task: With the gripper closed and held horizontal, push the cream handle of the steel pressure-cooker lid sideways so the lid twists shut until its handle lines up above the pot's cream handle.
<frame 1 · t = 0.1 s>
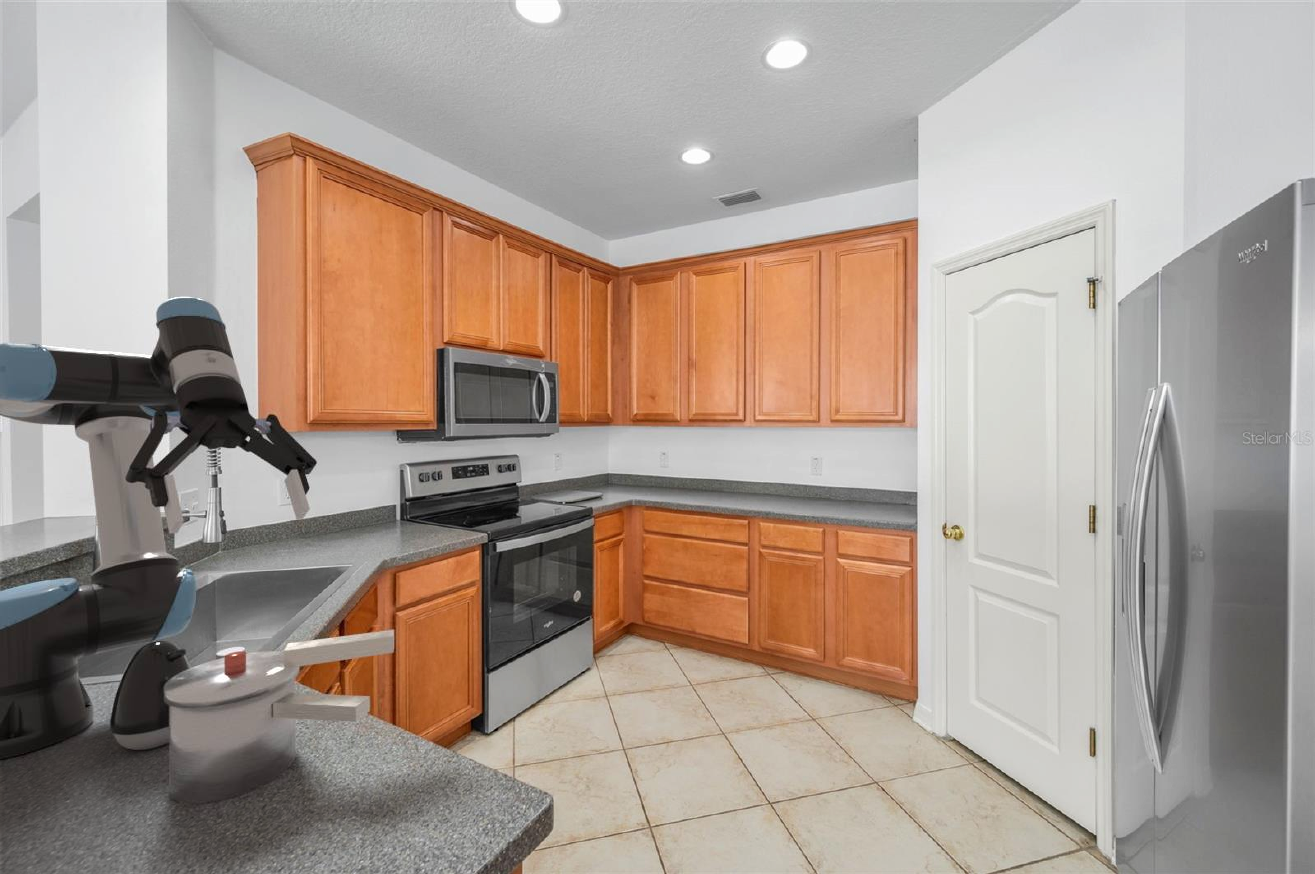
hand: (245, 520, 71), 36 cm above the counter, tool tilted 35°, fingers open, 13 cm apart
lid: (288, 660, 80), point 14 cm above the counter, hinge at 30.0°
pill bottle: (231, 708, 97), on the counter
pump dispenser: (157, 741, 86), on the counter
cooker pot: (235, 770, 78), on the counter
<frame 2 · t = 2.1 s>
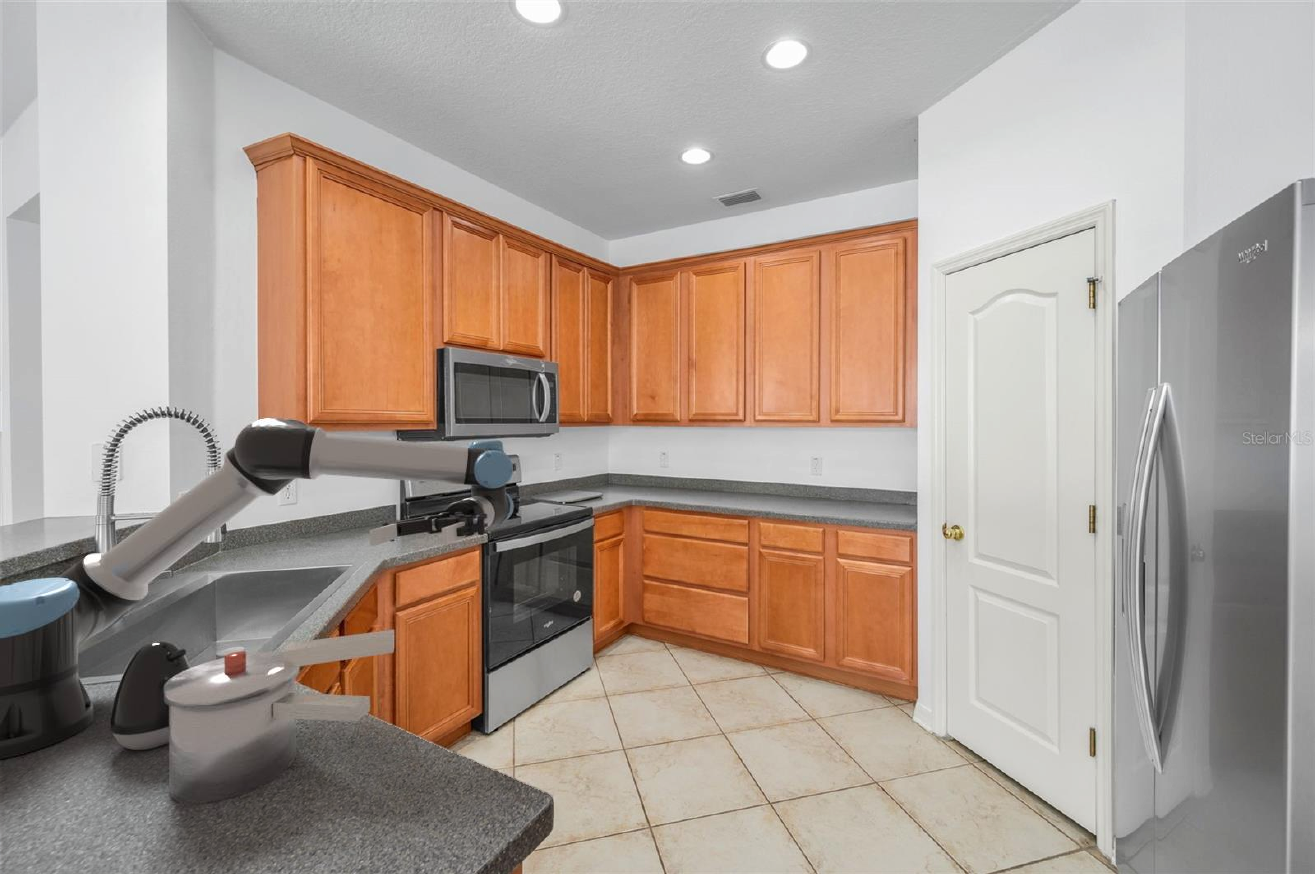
hand: (407, 537, 96), 29 cm above the counter, tool horizontal, fingers open, 13 cm apart
nothing on the counter moved.
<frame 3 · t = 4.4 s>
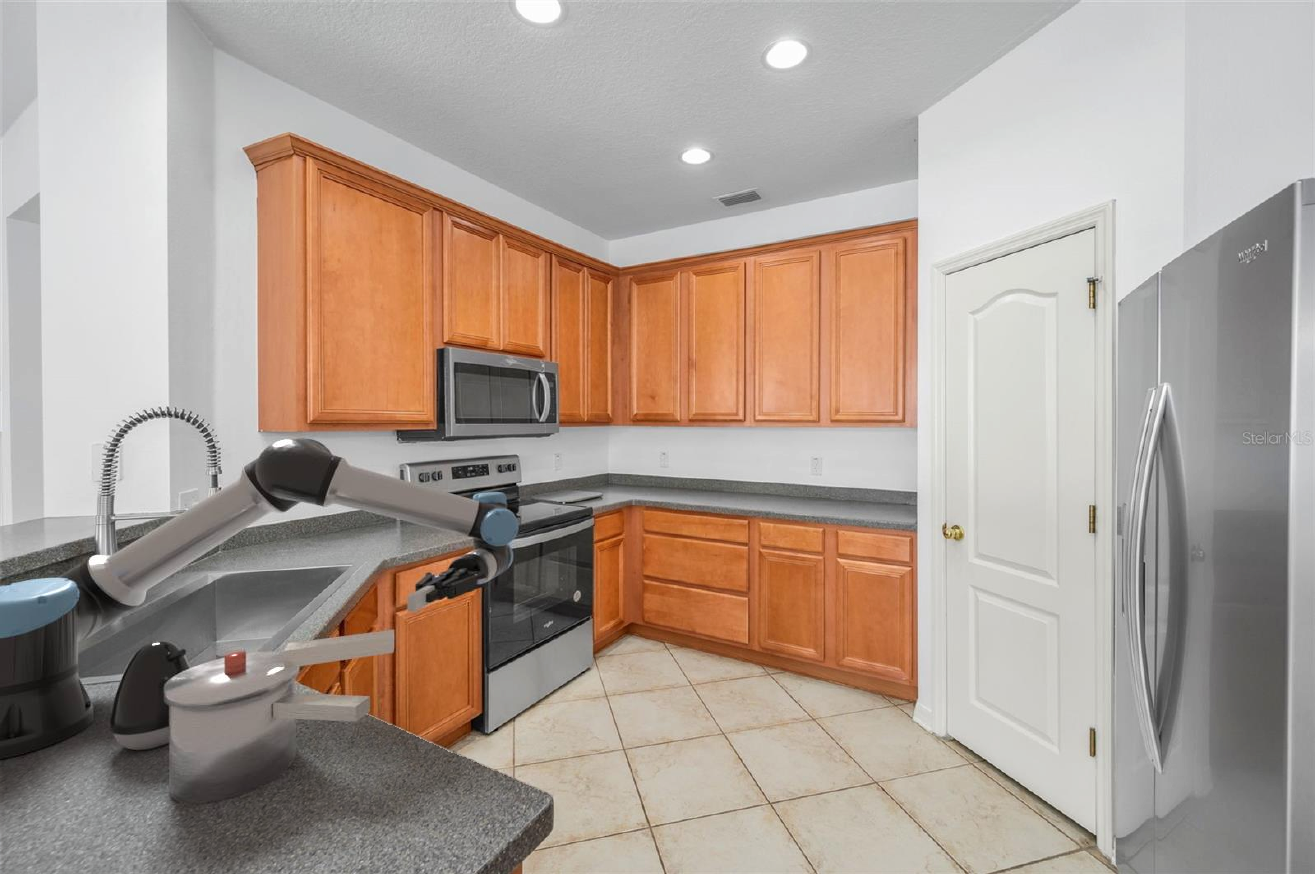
hand: (411, 603, 96), 18 cm above the counter, tool horizontal, fingers closed
nothing on the counter moved.
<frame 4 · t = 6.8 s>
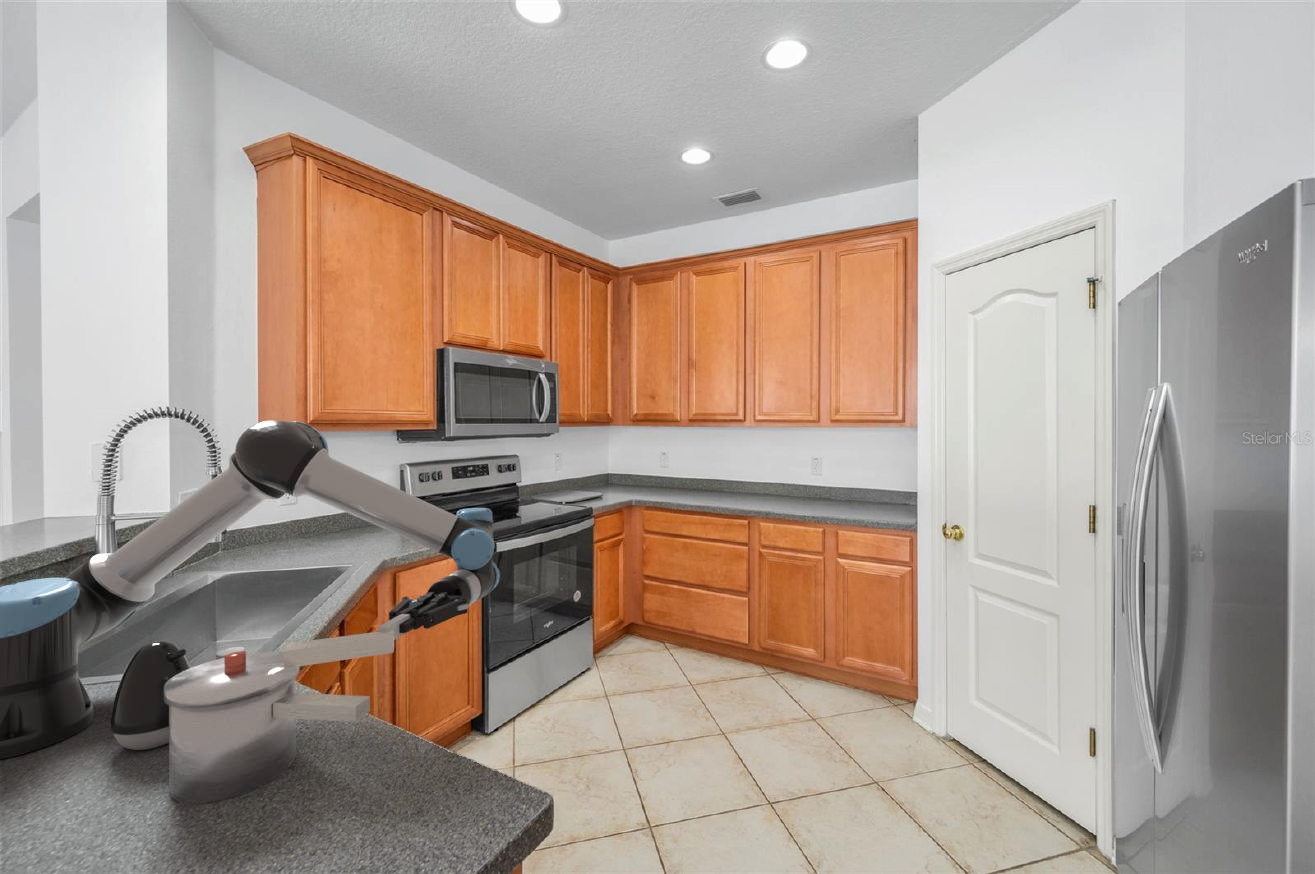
hand: (382, 635, 87), 15 cm above the counter, tool horizontal, fingers closed
lid: (288, 660, 80), point 14 cm above the counter, hinge at 29.9°, touching gripper
everything else where it was.
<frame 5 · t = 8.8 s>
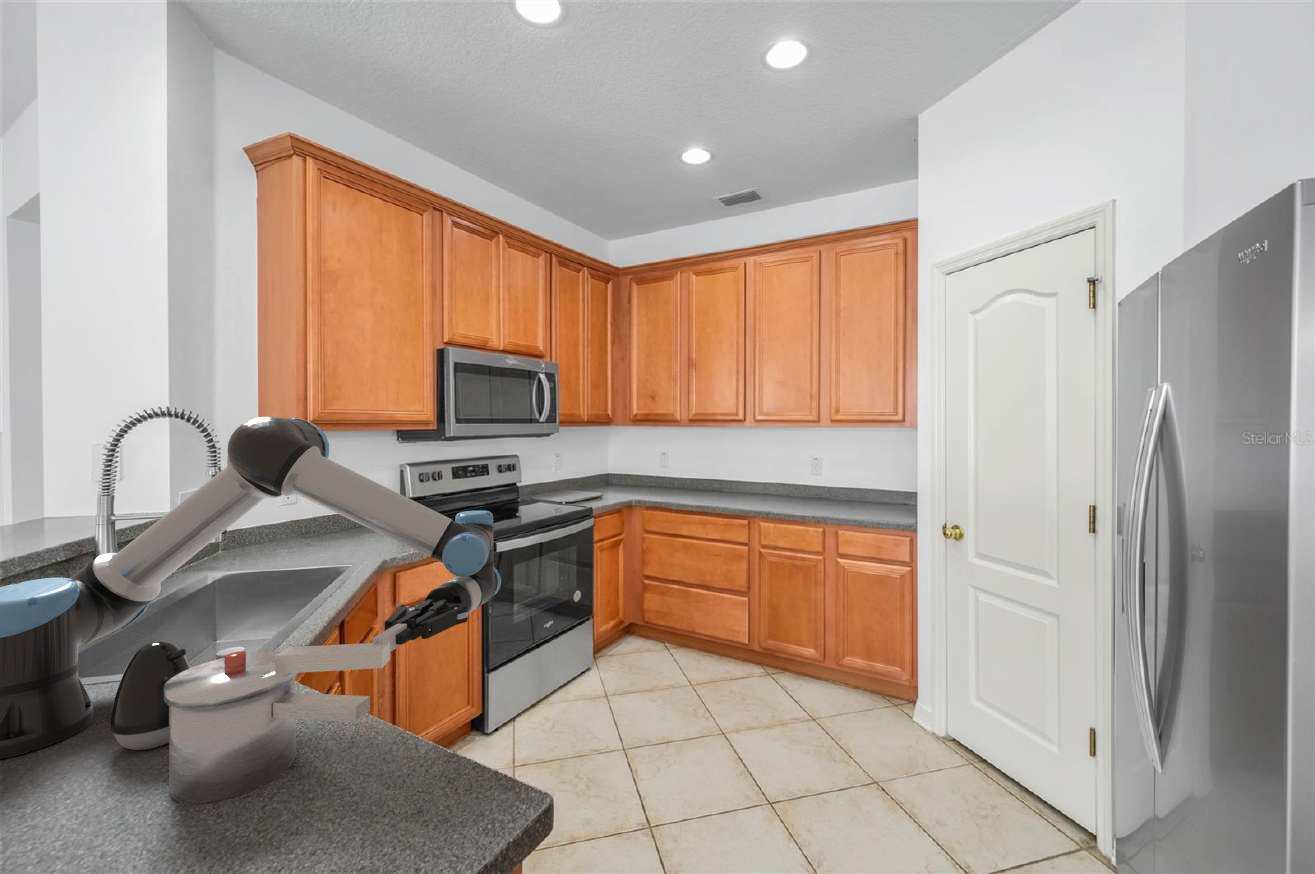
hand: (377, 647, 82), 15 cm above the counter, tool horizontal, fingers closed
lid: (283, 665, 79), point 14 cm above the counter, hinge at 13.4°, touching gripper
everything else where it was.
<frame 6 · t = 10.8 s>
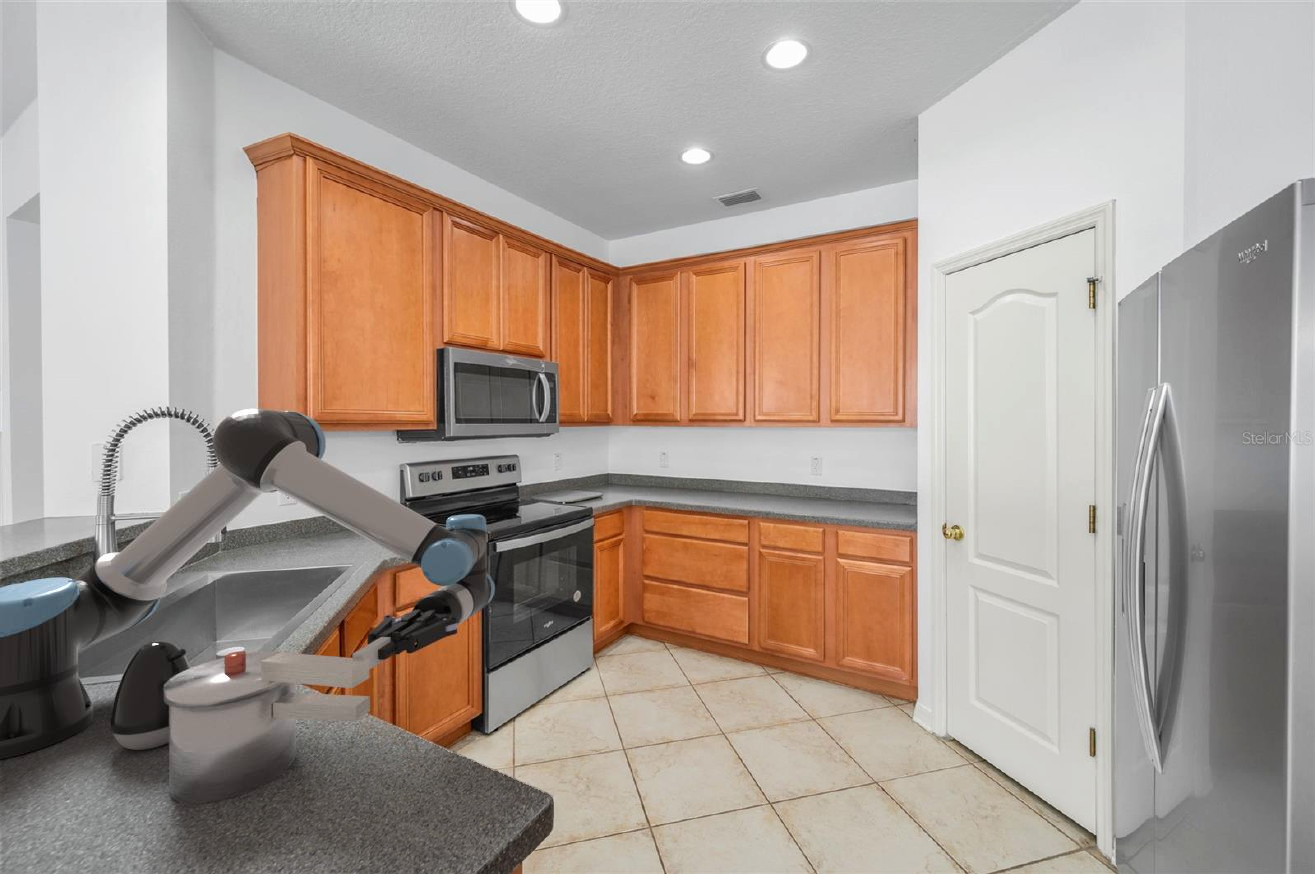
hand: (357, 663, 76), 15 cm above the counter, tool horizontal, fingers closed
lid: (273, 671, 77), point 14 cm above the counter, hinge at -5.1°, touching gripper
everything else where it was.
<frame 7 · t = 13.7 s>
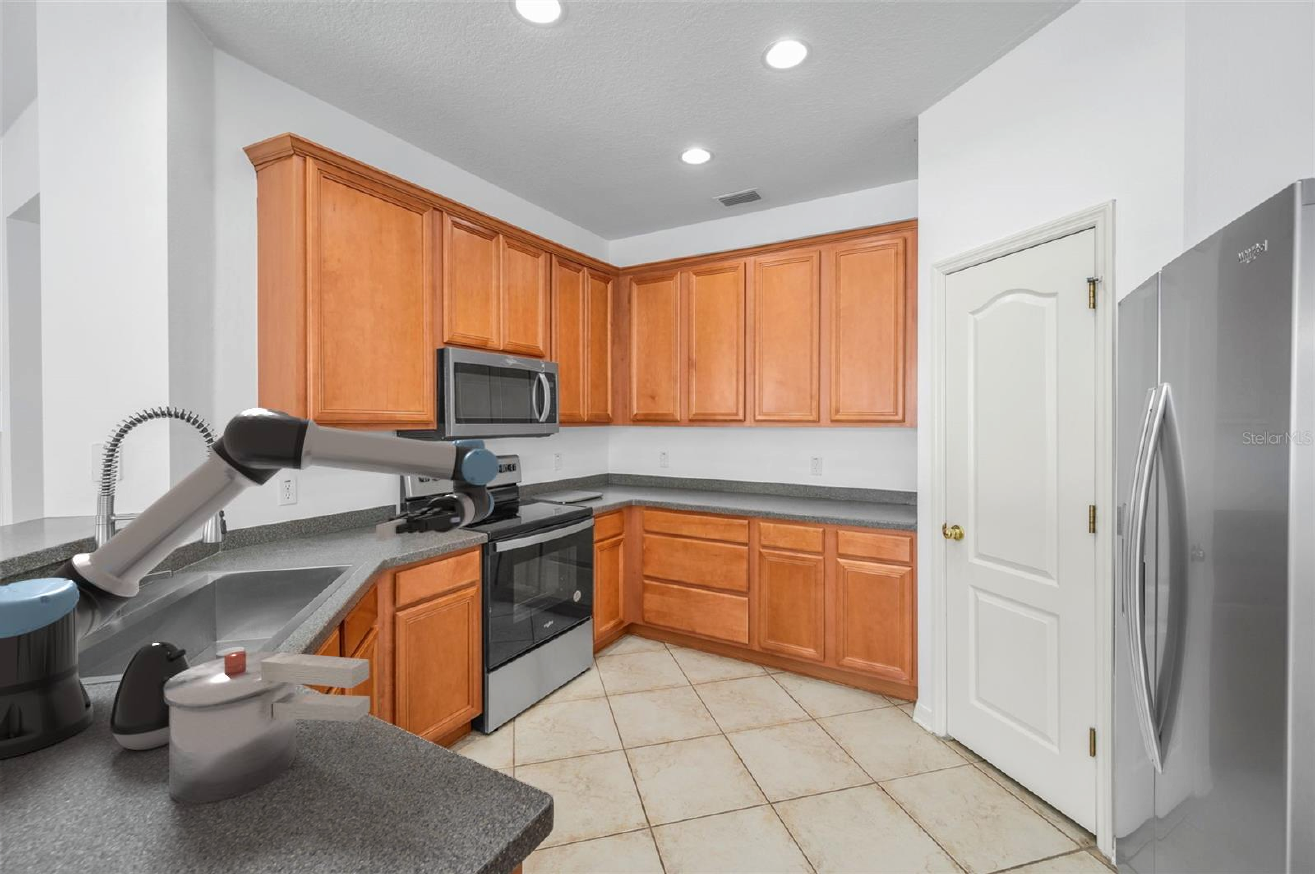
hand: (380, 532, 98), 30 cm above the counter, tool horizontal, fingers closed
lid: (273, 671, 77), point 14 cm above the counter, hinge at -5.2°
everything else where it was.
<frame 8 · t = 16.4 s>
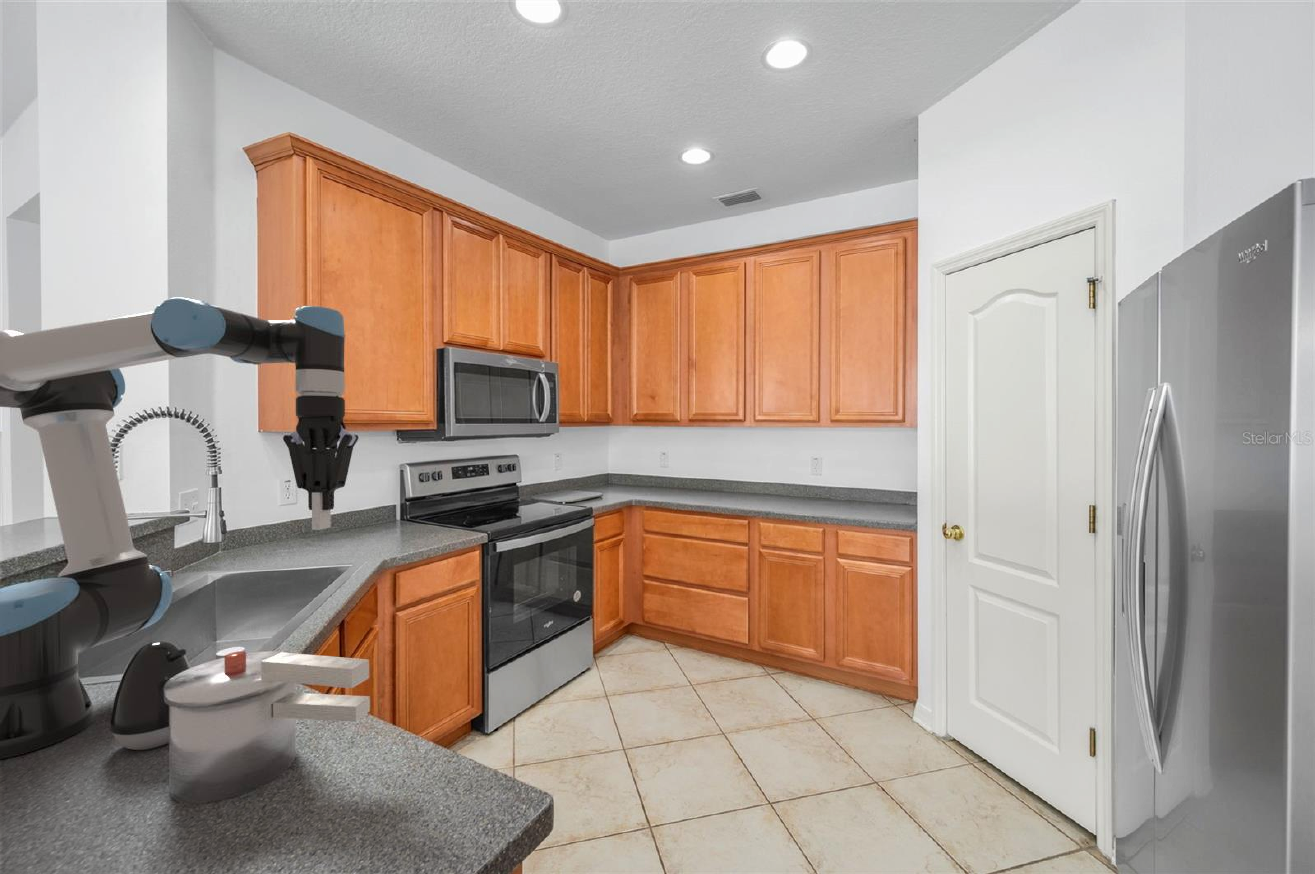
hand: (321, 528, 99), 30 cm above the counter, tool pointing down, fingers closed
nothing on the counter moved.
at the end: lid at -5° (first picture: +30°); pump dispenser moved 0.2 cm from its start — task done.
